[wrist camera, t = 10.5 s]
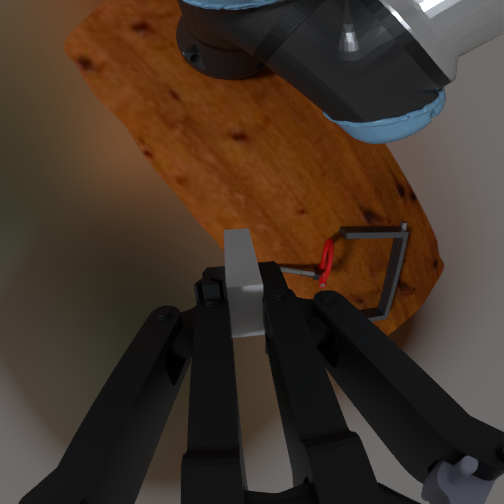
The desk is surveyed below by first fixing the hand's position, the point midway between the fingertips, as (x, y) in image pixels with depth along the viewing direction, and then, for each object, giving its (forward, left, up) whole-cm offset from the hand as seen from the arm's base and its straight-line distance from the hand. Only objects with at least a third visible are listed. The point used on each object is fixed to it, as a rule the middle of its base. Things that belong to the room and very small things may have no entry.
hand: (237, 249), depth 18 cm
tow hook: (+8, +12, -23) cm, 27 cm away
